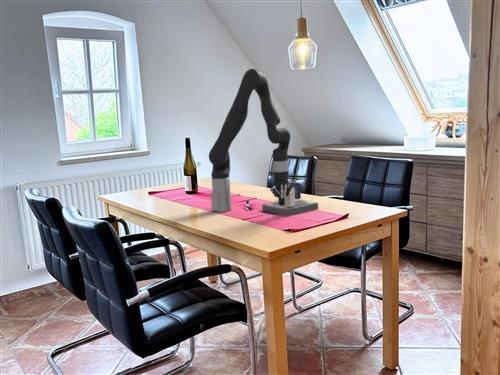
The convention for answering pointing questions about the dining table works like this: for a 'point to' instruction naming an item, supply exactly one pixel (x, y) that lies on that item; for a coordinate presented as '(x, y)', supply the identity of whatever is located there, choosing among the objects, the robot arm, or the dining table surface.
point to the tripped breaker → (290, 199)
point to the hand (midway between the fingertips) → (282, 205)
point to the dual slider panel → (286, 210)
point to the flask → (296, 188)
